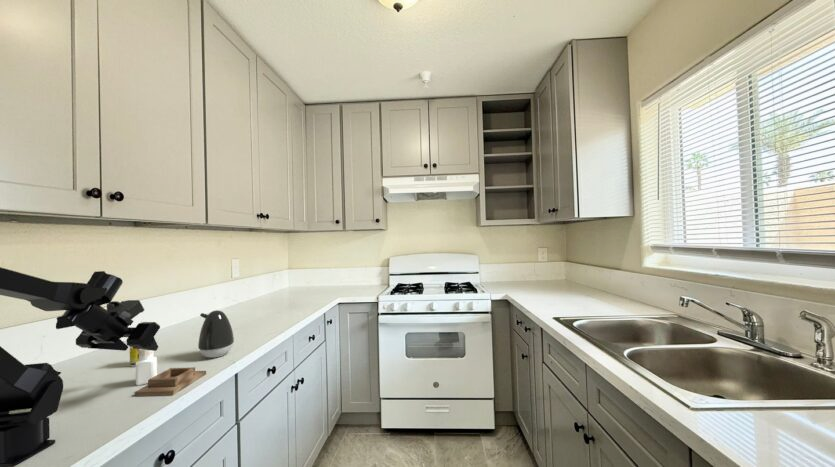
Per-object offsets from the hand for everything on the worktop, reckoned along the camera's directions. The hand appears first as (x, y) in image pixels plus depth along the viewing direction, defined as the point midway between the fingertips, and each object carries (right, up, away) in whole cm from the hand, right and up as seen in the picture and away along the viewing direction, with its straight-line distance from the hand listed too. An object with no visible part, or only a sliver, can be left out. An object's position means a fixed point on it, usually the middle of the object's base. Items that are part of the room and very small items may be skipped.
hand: (141, 348), depth 86 cm
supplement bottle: (-13, -10, +14) cm, 22 cm away
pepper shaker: (+1, -10, +1) cm, 10 cm away
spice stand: (+10, -9, -1) cm, 13 cm away
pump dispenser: (+8, -10, +20) cm, 24 cm away
